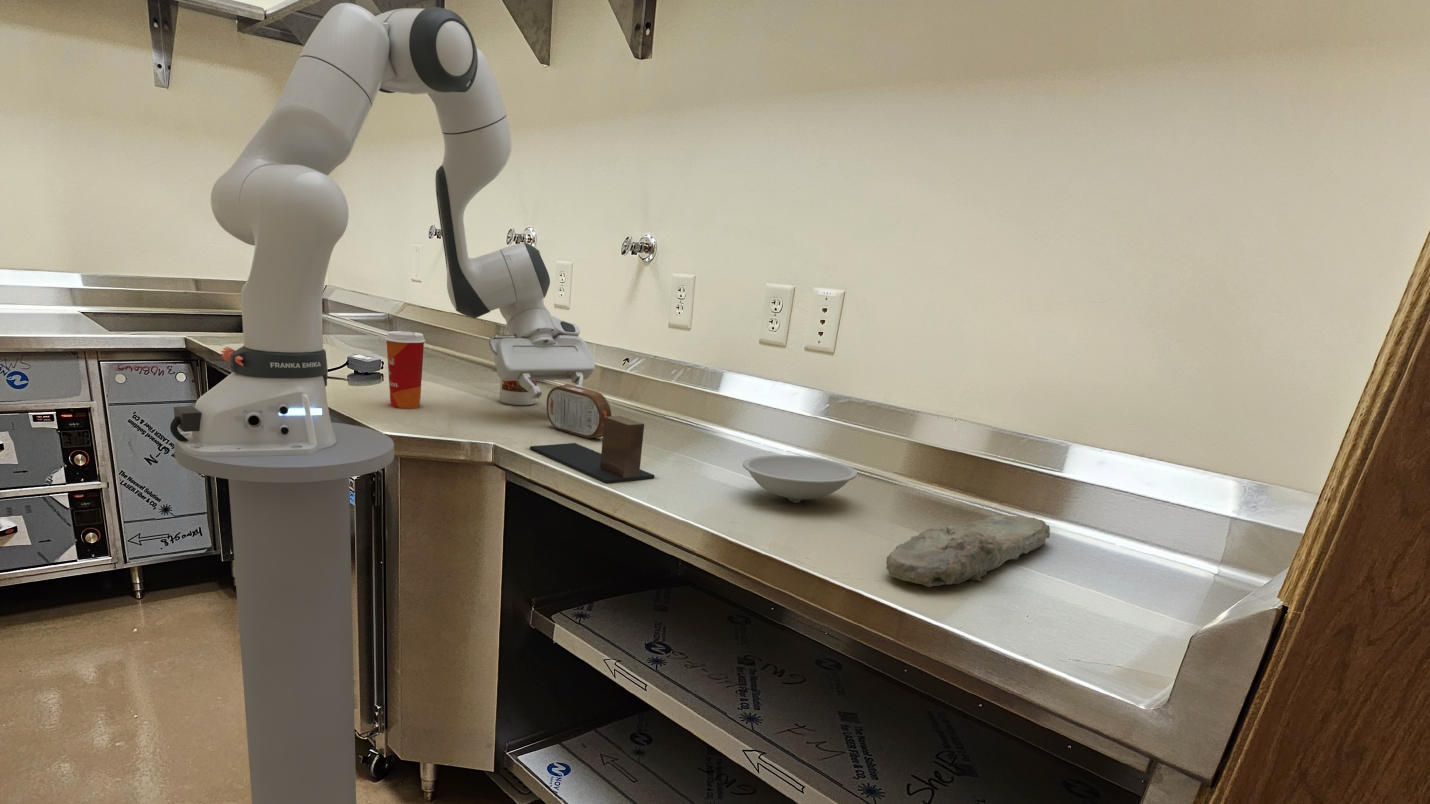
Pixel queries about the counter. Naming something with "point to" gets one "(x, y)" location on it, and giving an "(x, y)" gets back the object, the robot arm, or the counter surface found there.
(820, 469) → the dish
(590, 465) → the mat
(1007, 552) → the long grey stone
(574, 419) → the tin
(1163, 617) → the counter surface
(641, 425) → the brown rectangular block
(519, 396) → the milk bottle
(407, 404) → the paper cup
